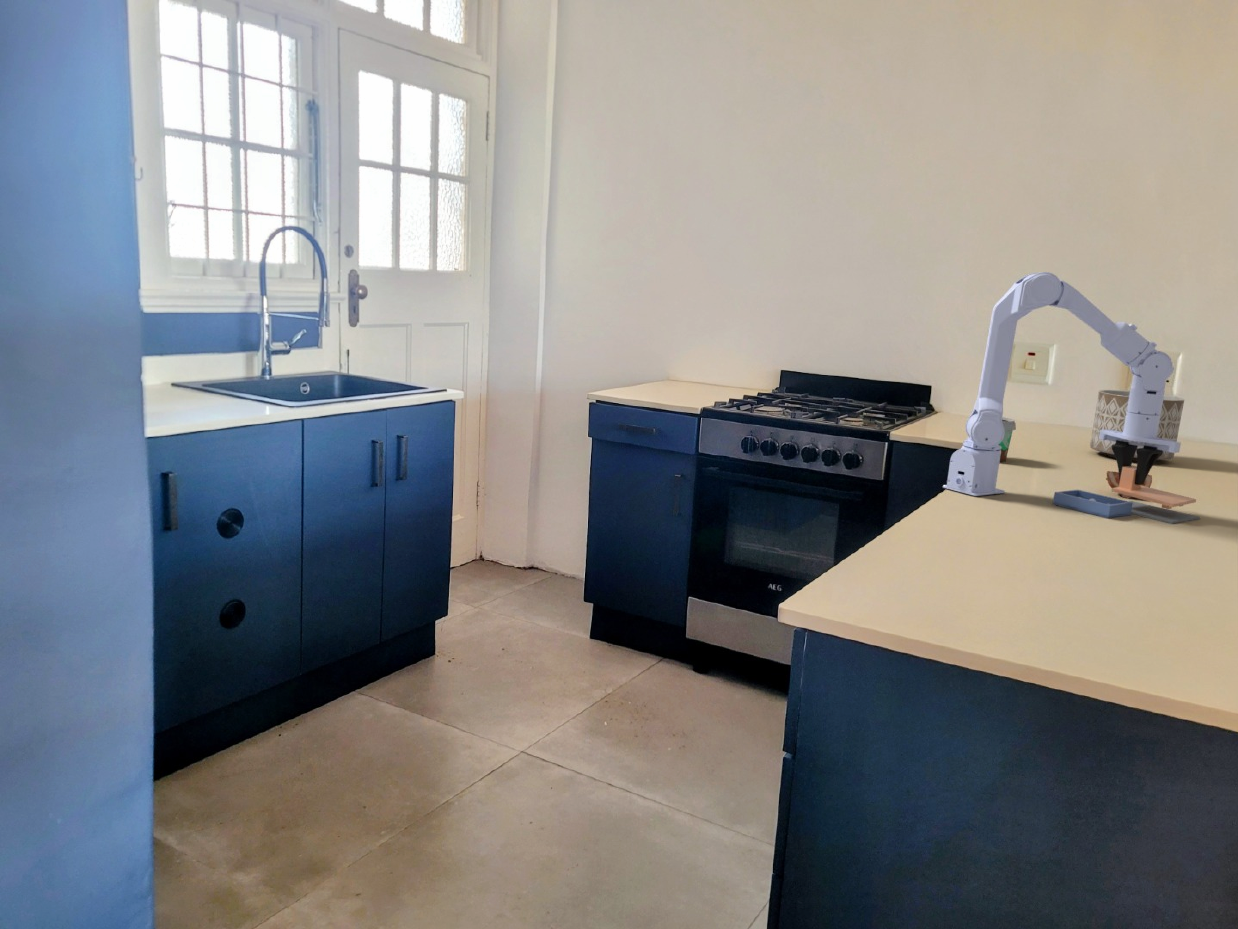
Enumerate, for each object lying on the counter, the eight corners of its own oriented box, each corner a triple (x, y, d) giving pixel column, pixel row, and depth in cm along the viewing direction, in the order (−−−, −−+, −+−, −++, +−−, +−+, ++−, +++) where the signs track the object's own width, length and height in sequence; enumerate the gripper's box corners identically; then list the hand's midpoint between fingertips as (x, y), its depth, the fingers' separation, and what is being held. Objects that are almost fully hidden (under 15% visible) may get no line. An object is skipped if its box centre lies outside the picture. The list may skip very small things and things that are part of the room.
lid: (1171, 512, 172) (1177, 482, 170) (1110, 495, 181) (1115, 468, 180) (1194, 506, 176) (1200, 478, 175) (1133, 491, 185) (1138, 464, 184)
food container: (1015, 465, 221) (1022, 423, 219) (988, 462, 222) (994, 421, 220) (1005, 456, 233) (1011, 416, 231) (979, 454, 234) (985, 414, 232)
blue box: (1108, 518, 172) (1110, 505, 171) (1052, 504, 181) (1054, 492, 180) (1130, 514, 176) (1132, 502, 175) (1075, 501, 185) (1077, 489, 184)
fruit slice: (1105, 496, 192) (1109, 472, 191) (1100, 490, 198) (1104, 467, 197) (1151, 502, 190) (1155, 477, 189) (1144, 495, 196) (1148, 472, 195)
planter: (1091, 458, 238) (1102, 394, 235) (1086, 447, 256) (1095, 387, 253) (1178, 468, 231) (1190, 402, 228) (1166, 457, 249) (1177, 395, 246)
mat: (1172, 523, 171) (1172, 521, 171) (1103, 506, 181) (1103, 504, 181) (1199, 518, 176) (1199, 516, 176) (1131, 502, 187) (1131, 500, 187)
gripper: (1193, 418, 175) (1180, 489, 178) (1117, 407, 187) (1106, 473, 190) (1174, 419, 171) (1161, 492, 174) (1097, 407, 183) (1086, 475, 186)
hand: (1131, 482), depth 182 cm, fingers closed on lid, 2 cm apart
